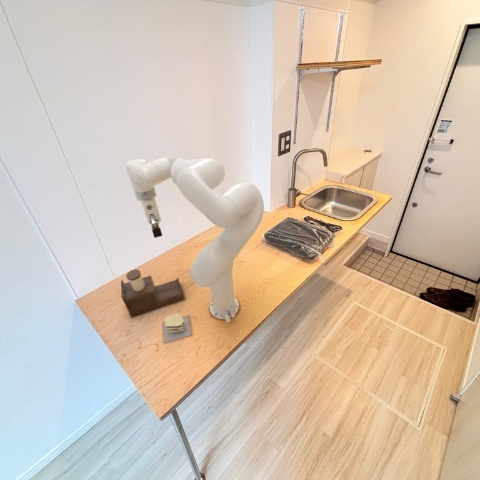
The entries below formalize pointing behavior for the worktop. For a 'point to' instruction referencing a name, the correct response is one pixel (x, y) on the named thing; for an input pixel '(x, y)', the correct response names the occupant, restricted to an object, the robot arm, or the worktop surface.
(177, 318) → the stacked layers on plate
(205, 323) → the worktop surface
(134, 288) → the spice jar
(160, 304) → the step rack
